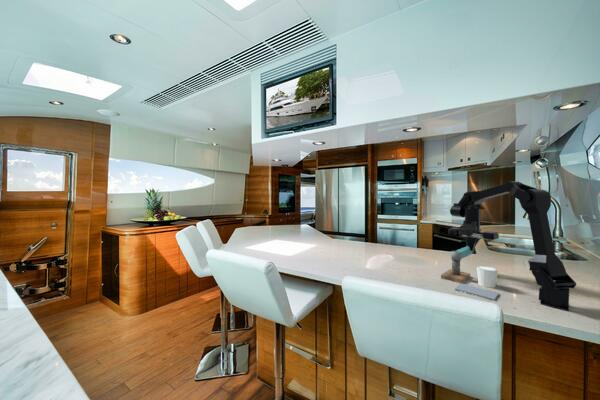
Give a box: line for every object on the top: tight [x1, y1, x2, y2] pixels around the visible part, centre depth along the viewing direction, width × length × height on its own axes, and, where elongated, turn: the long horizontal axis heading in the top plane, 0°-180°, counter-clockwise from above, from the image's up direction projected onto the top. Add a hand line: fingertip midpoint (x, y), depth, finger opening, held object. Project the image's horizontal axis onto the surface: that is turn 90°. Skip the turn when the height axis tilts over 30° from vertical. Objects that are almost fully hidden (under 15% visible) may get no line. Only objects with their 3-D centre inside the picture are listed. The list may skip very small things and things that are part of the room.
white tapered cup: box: [476, 265, 499, 289], centre depth 96 cm, size 7×7×7 cm
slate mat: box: [454, 283, 499, 302], centre depth 89 cm, size 12×8×1 cm, turn 41°
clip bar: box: [450, 245, 474, 262], centre depth 109 cm, size 20×4×3 cm, turn 128°
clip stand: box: [440, 259, 471, 284], centre depth 104 cm, size 8×12×8 cm, turn 131°
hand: (471, 251), depth 111 cm, fingers closed
